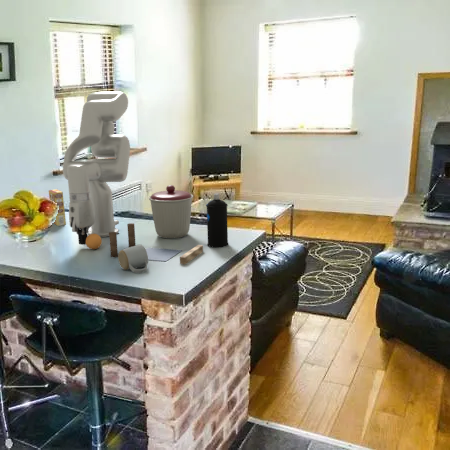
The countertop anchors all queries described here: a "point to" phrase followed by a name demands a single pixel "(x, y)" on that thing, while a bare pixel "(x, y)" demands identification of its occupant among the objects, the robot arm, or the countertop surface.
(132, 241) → the post
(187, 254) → the wall
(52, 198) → the candy box
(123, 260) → the ceramic mug
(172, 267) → the countertop surface
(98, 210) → the robot arm
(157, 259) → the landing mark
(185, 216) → the canister
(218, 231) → the aerosol can
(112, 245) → the post
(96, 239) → the ball
